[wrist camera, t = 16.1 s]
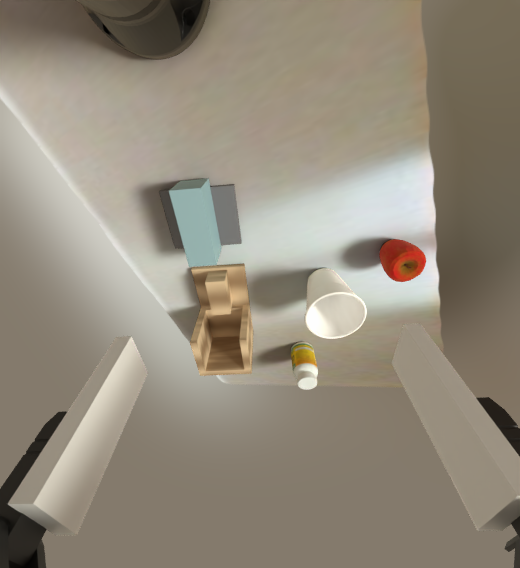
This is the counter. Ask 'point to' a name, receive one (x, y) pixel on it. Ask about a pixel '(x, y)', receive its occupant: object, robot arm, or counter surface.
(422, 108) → the counter surface
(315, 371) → the supplement bottle
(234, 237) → the mat
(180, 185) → the bar
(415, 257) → the apple
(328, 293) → the cup
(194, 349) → the cradle
